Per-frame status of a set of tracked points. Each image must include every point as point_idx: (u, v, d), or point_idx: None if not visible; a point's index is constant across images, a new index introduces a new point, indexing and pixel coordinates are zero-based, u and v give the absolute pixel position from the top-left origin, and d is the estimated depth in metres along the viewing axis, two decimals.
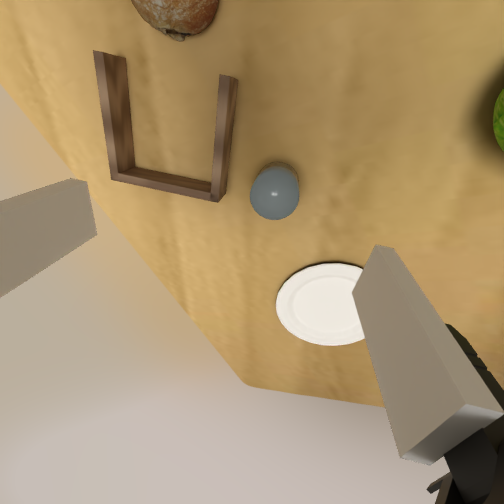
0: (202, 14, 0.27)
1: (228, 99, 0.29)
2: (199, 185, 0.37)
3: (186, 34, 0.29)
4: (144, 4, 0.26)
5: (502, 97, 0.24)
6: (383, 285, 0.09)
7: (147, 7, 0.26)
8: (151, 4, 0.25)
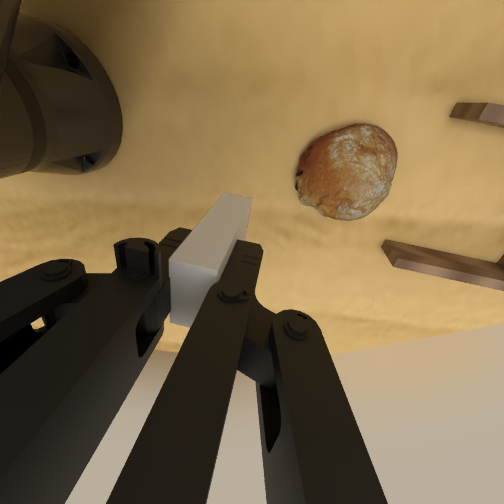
0: (392, 141, 0.23)
1: None
2: None
3: None
4: (374, 204, 0.25)
5: None
6: None
7: (377, 202, 0.25)
8: (379, 196, 0.24)
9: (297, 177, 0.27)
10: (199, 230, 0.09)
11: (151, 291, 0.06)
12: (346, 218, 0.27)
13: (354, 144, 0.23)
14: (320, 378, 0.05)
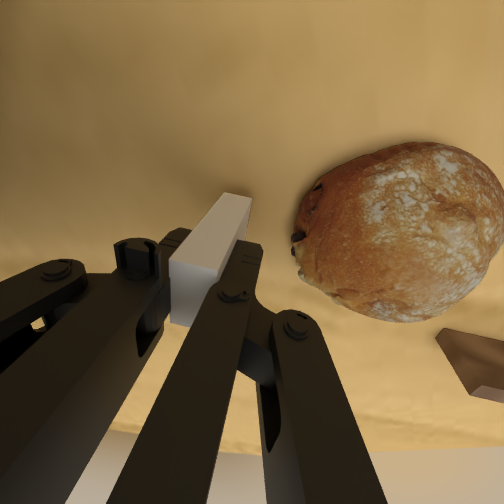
0: (500, 184, 0.11)
1: None
2: None
3: None
4: (451, 306, 0.12)
5: None
6: None
7: None
8: (464, 296, 0.12)
9: (294, 243, 0.14)
10: (199, 230, 0.09)
11: (151, 291, 0.06)
12: None
13: (422, 195, 0.10)
14: (320, 378, 0.05)
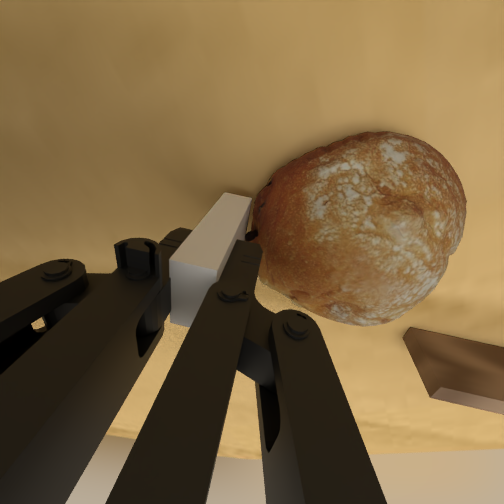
0: (455, 175, 0.10)
1: None
2: None
3: None
4: (411, 307, 0.11)
5: None
6: None
7: (417, 303, 0.11)
8: (422, 297, 0.11)
9: None
10: (199, 230, 0.09)
11: (151, 291, 0.06)
12: (349, 324, 0.13)
13: (366, 187, 0.09)
14: (319, 378, 0.05)
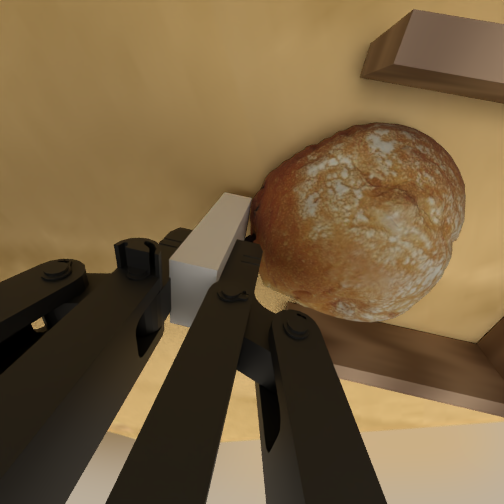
0: (449, 159, 0.10)
1: None
2: None
3: None
4: (418, 299, 0.11)
5: None
6: None
7: (425, 294, 0.11)
8: (429, 287, 0.10)
9: None
10: (199, 230, 0.09)
11: (151, 291, 0.06)
12: None
13: (355, 181, 0.09)
14: (319, 378, 0.05)
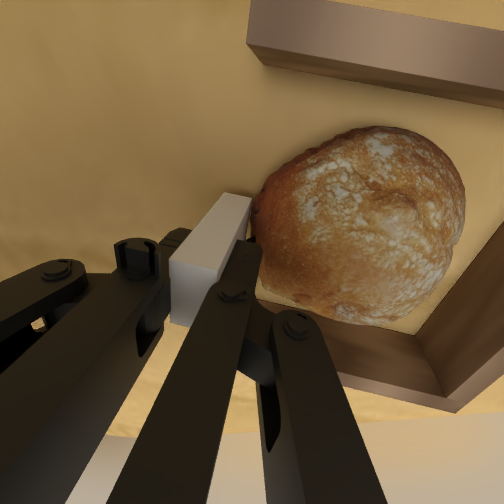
0: (449, 162, 0.10)
1: None
2: None
3: None
4: (419, 303, 0.11)
5: None
6: None
7: (425, 297, 0.11)
8: (429, 291, 0.10)
9: None
10: (199, 230, 0.09)
11: (151, 291, 0.06)
12: (357, 324, 0.13)
13: (355, 184, 0.09)
14: (320, 378, 0.05)
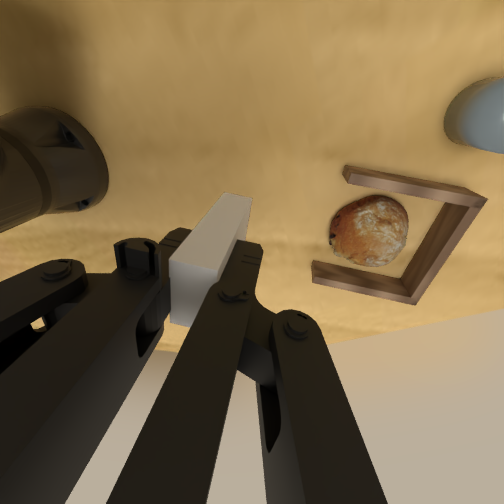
0: (402, 210, 0.31)
1: (370, 176, 0.29)
2: (447, 219, 0.31)
3: None
4: (395, 255, 0.33)
5: None
6: None
7: (397, 253, 0.32)
8: (397, 250, 0.32)
9: (331, 239, 0.35)
10: (199, 230, 0.09)
11: (151, 291, 0.06)
12: (373, 266, 0.34)
13: (373, 218, 0.31)
14: (320, 378, 0.05)
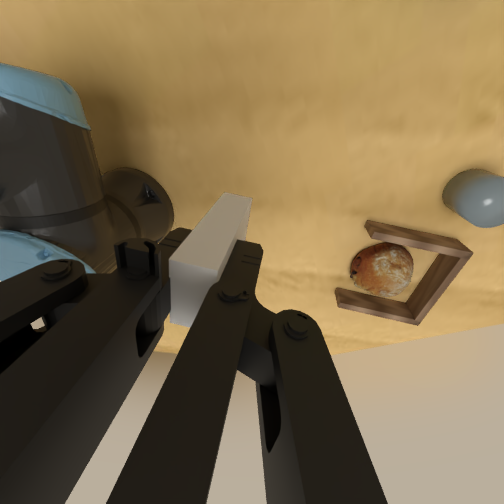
0: (409, 256, 0.41)
1: (387, 233, 0.39)
2: (444, 262, 0.42)
3: None
4: (402, 289, 0.43)
5: None
6: None
7: (404, 288, 0.43)
8: (405, 286, 0.42)
9: (353, 274, 0.45)
10: (199, 230, 0.09)
11: (151, 291, 0.06)
12: (385, 296, 0.44)
13: (387, 263, 0.41)
14: (320, 378, 0.05)
